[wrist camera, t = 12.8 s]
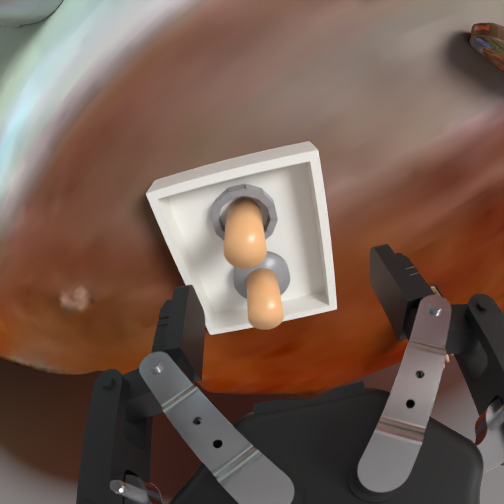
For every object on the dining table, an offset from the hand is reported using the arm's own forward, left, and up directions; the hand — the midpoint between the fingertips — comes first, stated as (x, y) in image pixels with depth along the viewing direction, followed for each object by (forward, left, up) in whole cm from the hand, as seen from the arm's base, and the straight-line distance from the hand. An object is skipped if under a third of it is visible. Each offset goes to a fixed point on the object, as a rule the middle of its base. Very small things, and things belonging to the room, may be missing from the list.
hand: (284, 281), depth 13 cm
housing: (-3, -11, -23) cm, 25 cm away
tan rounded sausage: (-3, -7, -22) cm, 23 cm away
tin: (+36, +10, -23) cm, 44 cm away
